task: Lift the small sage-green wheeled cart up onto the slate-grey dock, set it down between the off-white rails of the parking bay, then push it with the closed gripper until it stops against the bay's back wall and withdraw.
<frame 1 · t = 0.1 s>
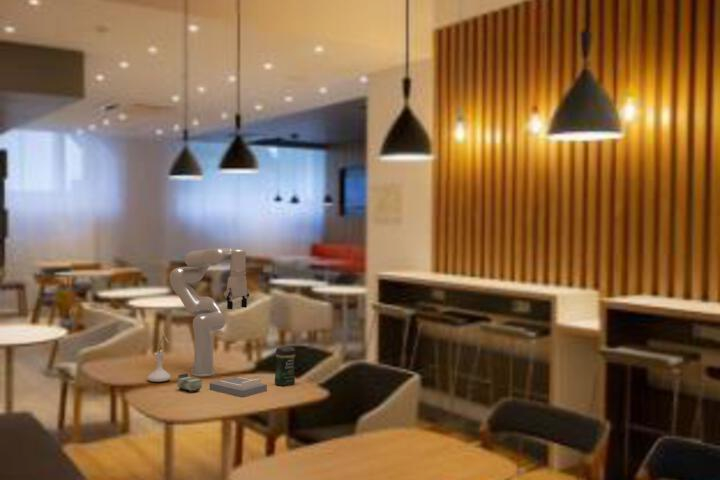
hand: (237, 308, 363), 37 cm above the table, tool pointing down, fingers open, 9 cm apart
dock: (238, 390, 346), on the table
coffee jar: (284, 384, 361), on the table
cart: (189, 390, 343), on the table
flower in vase: (159, 380, 362), on the table
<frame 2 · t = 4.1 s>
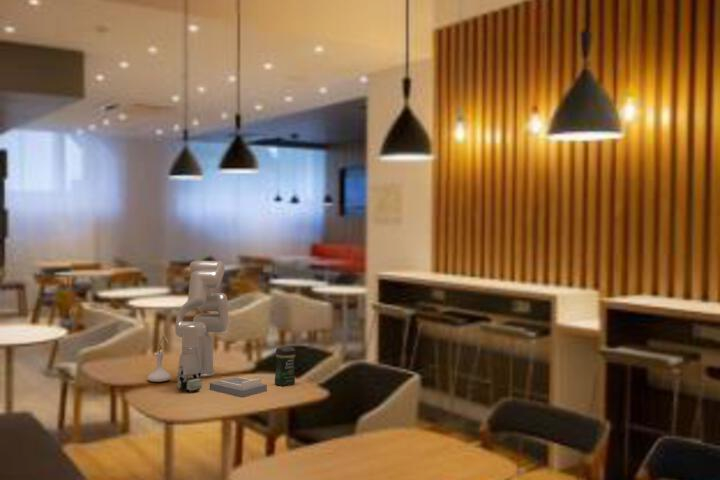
hand: (189, 388, 343), 1 cm above the table, tool pointing down, fingers closed on cart, 6 cm apart
cart: (189, 390, 343), on the table, touching gripper
everything else where it was.
when the fingers open (5 cm above the table, at t = 10.6 s): cart drops 1 cm, resting on dock.
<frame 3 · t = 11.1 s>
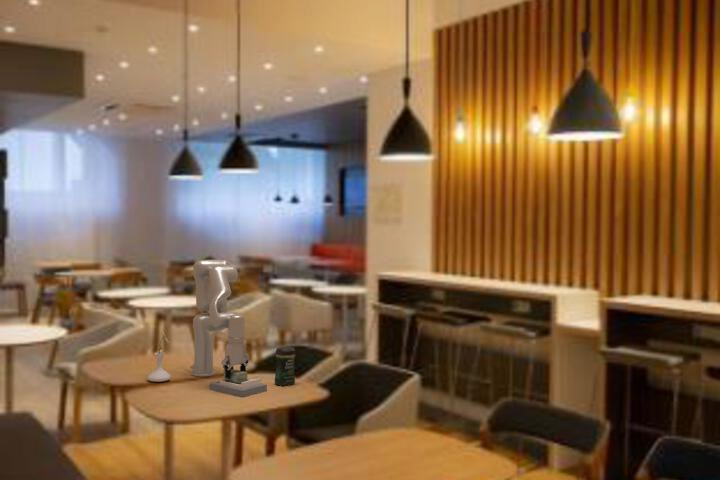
hand: (235, 376, 347), 6 cm above the table, tool pointing down, fingers open, 9 cm apart
cart: (235, 383, 347), point 3 cm above the table, touching dock
everything else where it was.
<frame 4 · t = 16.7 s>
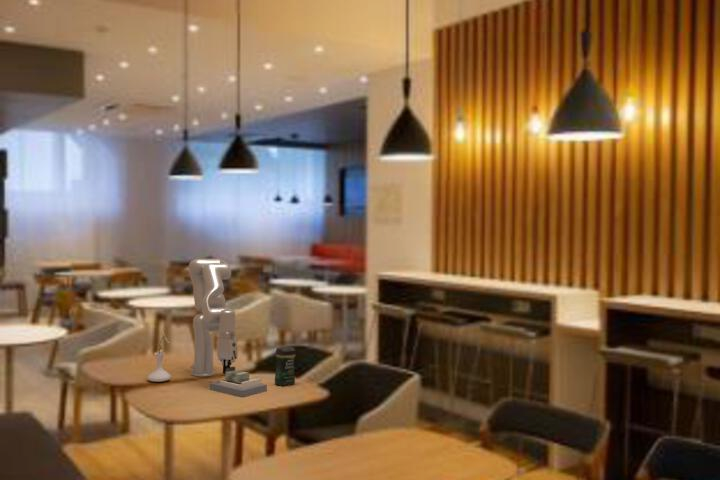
hand: (226, 373, 351), 7 cm above the table, tool pointing down, fingers closed
cart: (237, 383, 346), point 3 cm above the table, touching dock
everything else where it was.
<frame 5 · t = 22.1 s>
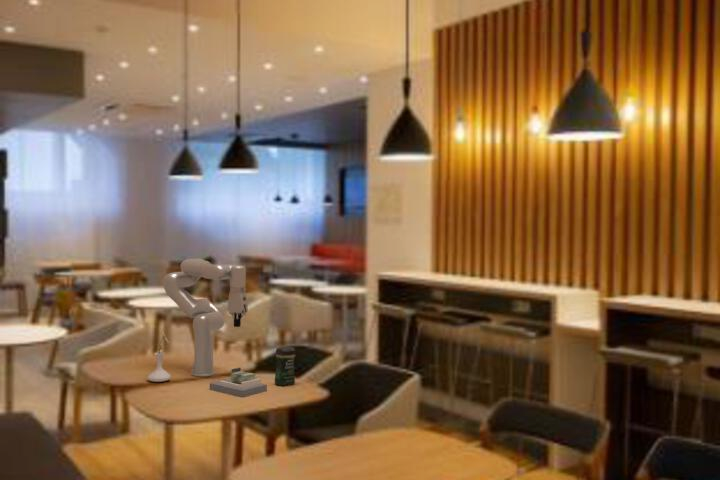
hand: (237, 326, 366), 27 cm above the table, tool pointing down, fingers closed
cart: (242, 384, 344), point 3 cm above the table, touching dock
everything else where it was.
at the end: cart 0.5 cm from the target spot on the dock, point 3.0 cm above the dock's base; cart tilted 0°; the gripper is holding nothing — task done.
